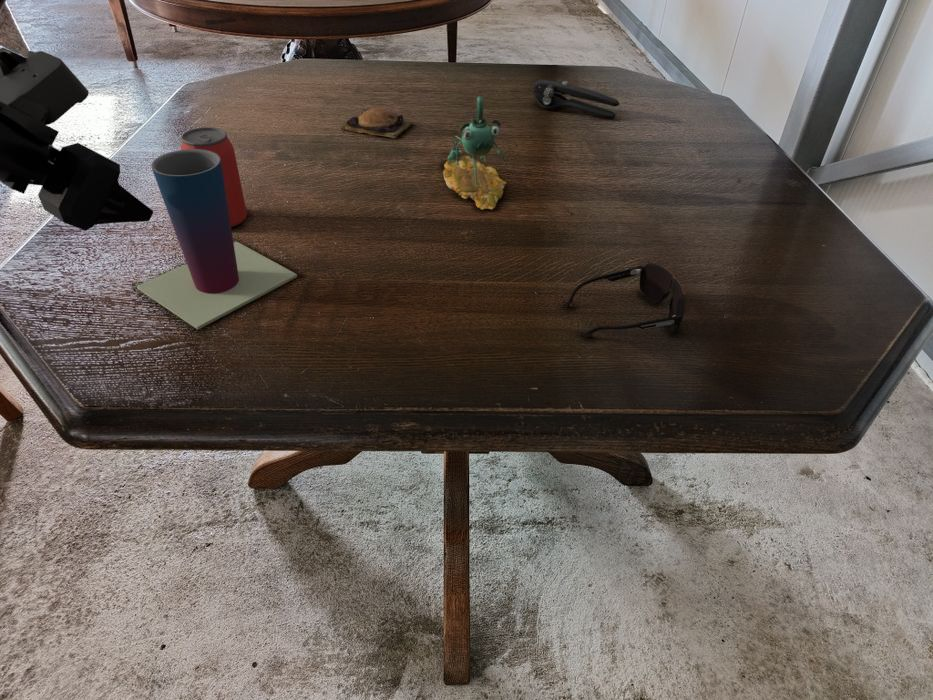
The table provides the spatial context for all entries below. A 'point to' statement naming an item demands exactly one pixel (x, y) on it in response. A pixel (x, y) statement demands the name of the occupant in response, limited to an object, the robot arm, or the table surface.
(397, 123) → the bread roll
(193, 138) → the beer can
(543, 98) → the can opener
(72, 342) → the table surface
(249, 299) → the mat
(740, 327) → the table surface
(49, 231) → the table surface
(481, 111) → the frog figurine
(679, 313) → the sunglasses
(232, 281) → the cup
